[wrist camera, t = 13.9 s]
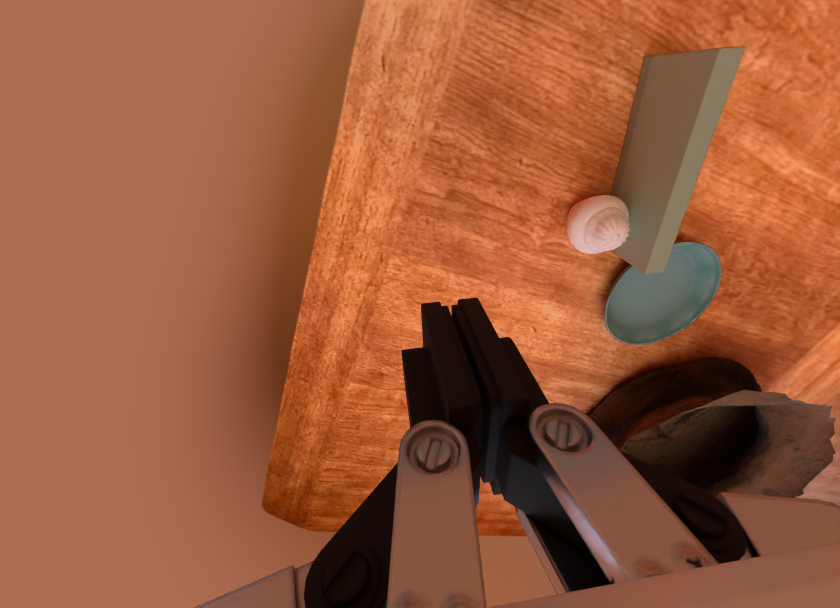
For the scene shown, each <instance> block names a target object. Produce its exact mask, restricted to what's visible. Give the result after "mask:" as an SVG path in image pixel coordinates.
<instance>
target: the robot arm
mask: <svg viewBox="0 0 840 608" xmlns="http://www.w3.org/2000/svg"><path fill="white" fill-rule="evenodd" d="M421 314H422V332H423V347H422V348H414V349H406V350H402V361H403V371H404V381H405V389H406V397H407V405H408V413H409V420H410V429H409V430H408V431H407V432H406V433H405V435H404V436H403V438H402V439H401V443H400V447H399V456H398V463H397V464H396V465H395V466H394V468H393V469H392V470H391V471H390V472H389V473H388V474H387V476H386V477H385V478H384V479H383V480H382V481H381V482H380V484H379V485H378V486H377V487H376V488H375V489H374V490H373V492H372V493H371V494H370V495H369V496H368V497H367V499H366V500H365V501H364V502H363V503H362V504H361V505H360V507H359V508H358V509H357V510H356V511H355V512H354V513H353V515H352V516H351V517H350V518H349V519H348V520H347V521H346V523H345V524H344V525H343V526H342V527H341V528H340V530H339V531H338V532H337V533H336V534H335V535H334V536H333V538H332V539H331V540H330V541H329V542H328V543H327V544H326V546H325V547H324V548H323V549H322V550H321V551H320V553H319V554H318V556H317V557H316V559H315V560H314V561H312V562H310V563H308V564H305V565H303V566H301V567H298V568H296V569H295V568H294V566H293V565H291V566H289V567H287V568H285V569H282V570H280V571H278V572H275V573H273V574H271V575H268V576H266V577H264V578H261V579H259V580H257V581H254V582H252V583H250V584H248V585H245V586H243V587H241V588H238V589H236V590H234V591H231V592H229V593H227V594H224V595H222V596H220V597H218V598H215V599H213V600H211V601H208V602H206V603H204V604H201V605H199V606H197V607H194V608H487V607H486V599H485V591H484V581H483V572H482V563H481V555H480V546H479V538H478V528H477V519H476V510H475V508H476V507H477V505H478V501H479V488H480V475H481V478H482V481H483V483H486V482H490V485H491V488H492V491H493V494H494V495H497V494H503V497H504V500H506V501H507V502H509V503H510V504H512V505H513V506H515V510H516V513H517V516H518V518H519V520H520V522H521V524H522V526H523V528H524V530H525V532H526V534H527V536H528V538H529V540H530V542H531V544H532V546H533V548H534V550H535V552H536V554H537V556H538V558H539V560H540V562H541V564H542V566H543V568H544V570H545V572H546V574H547V576H548V578H549V580H550V582H551V584H552V586H553V587H554V589H555V592H556V594H557V595H552V596H547V597H541V598H536V599H531V600H526V601H520V602H515V603H510V604H505V605H500V606H495V607H489V608H840V506H838V505H836V504H834V503H830V502H826V501H821V500H816V499H803V498H790V497H777V496H764V495H751V494H738V493H725V492H720V493H719V495H718V496H717V497H715V496H713V495H711V494H709V493H708V492H706V491H704V490H703V489H701V488H699V487H697V486H695V485H693V484H690V483H688V482H686V481H684V480H682V479H680V478H678V477H676V476H673V475H671V474H669V473H667V472H665V471H663V470H661V469H659V468H656V467H654V466H652V465H650V464H648V463H646V462H644V461H642V460H639V459H637V458H635V457H633V456H631V455H629V454H627V453H624V452H622V451H620V450H618V449H617V448H616V446H615V445H614V444H613V443H612V442H611V441H610V440H609V438H608V437H607V436H606V435H605V434H604V433H603V432H602V431H601V429H600V428H599V427H598V426H597V425H596V424H595V423H594V422H593V420H591V419H590V418H589V417H588V416H587V415H586V414H585V413H583V412H582V411H580V410H578V409H576V408H574V407H571V406H568V405H565V404H558V403H551V404H549V402H548V400H547V399H546V397H545V395H544V394H543V392H542V390H541V388H540V387H539V385H538V383H537V382H536V380H535V378H534V376H533V375H532V373H531V371H530V370H529V368H528V366H527V364H526V363H525V361H524V359H523V358H522V356H521V354H520V352H519V351H518V349H517V347H516V346H515V344H514V342H513V341H512V339H511V338H509V337H505V338H499V337H498V335H497V333H496V331H495V329H494V328H493V326H492V324H491V322H490V320H489V318H488V316H487V314H486V313H485V311H484V309H483V307H482V305H481V303H480V301H479V300H478V298H469V299H460V300H458V305H452V317H451V314H450V311H449V309H448V306H441V303H440V302H433V303H424V304H421Z"/></svg>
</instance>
